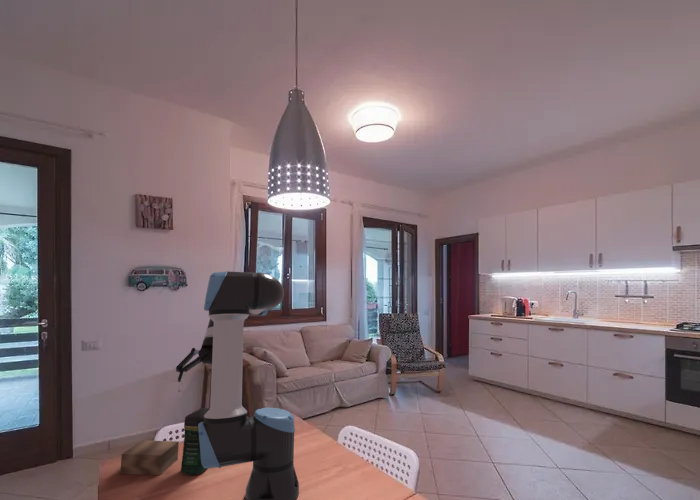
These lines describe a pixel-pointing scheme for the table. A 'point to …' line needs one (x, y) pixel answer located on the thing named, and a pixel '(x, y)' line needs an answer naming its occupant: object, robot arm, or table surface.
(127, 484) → the table surface
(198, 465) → the green supplement bottle
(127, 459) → the block
